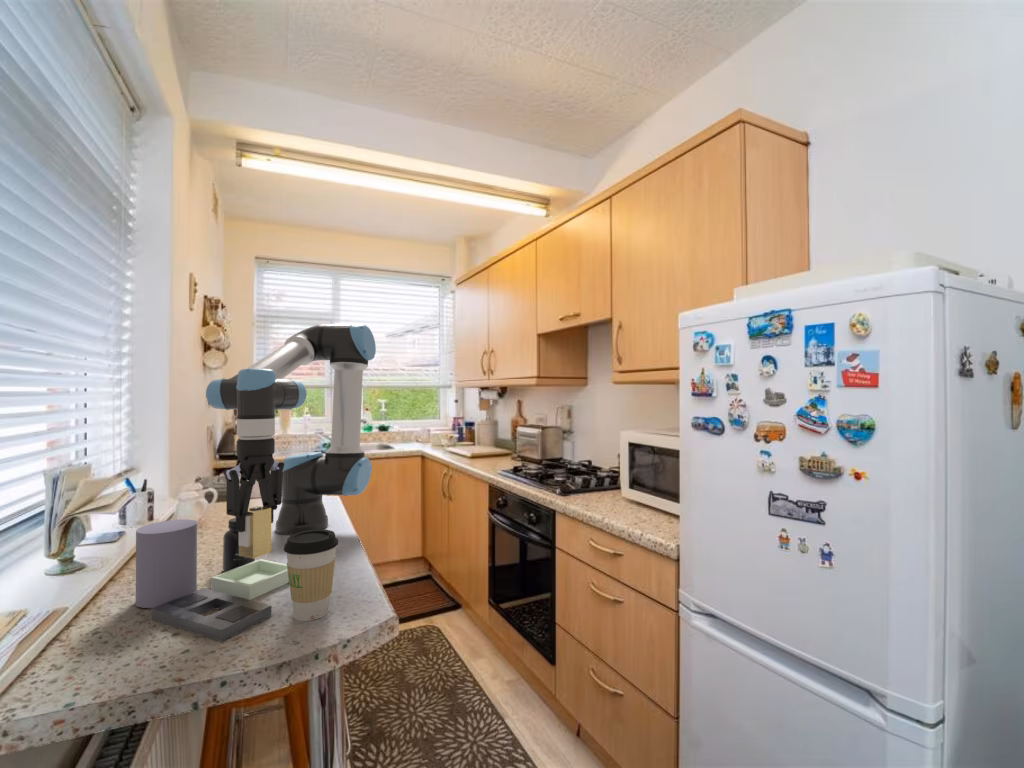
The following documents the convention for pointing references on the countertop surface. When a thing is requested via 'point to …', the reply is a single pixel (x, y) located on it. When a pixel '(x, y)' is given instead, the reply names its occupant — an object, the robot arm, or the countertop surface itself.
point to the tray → (251, 579)
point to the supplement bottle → (232, 549)
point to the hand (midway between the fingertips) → (255, 541)
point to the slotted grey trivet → (217, 625)
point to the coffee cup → (311, 572)
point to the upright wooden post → (258, 533)
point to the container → (165, 561)
